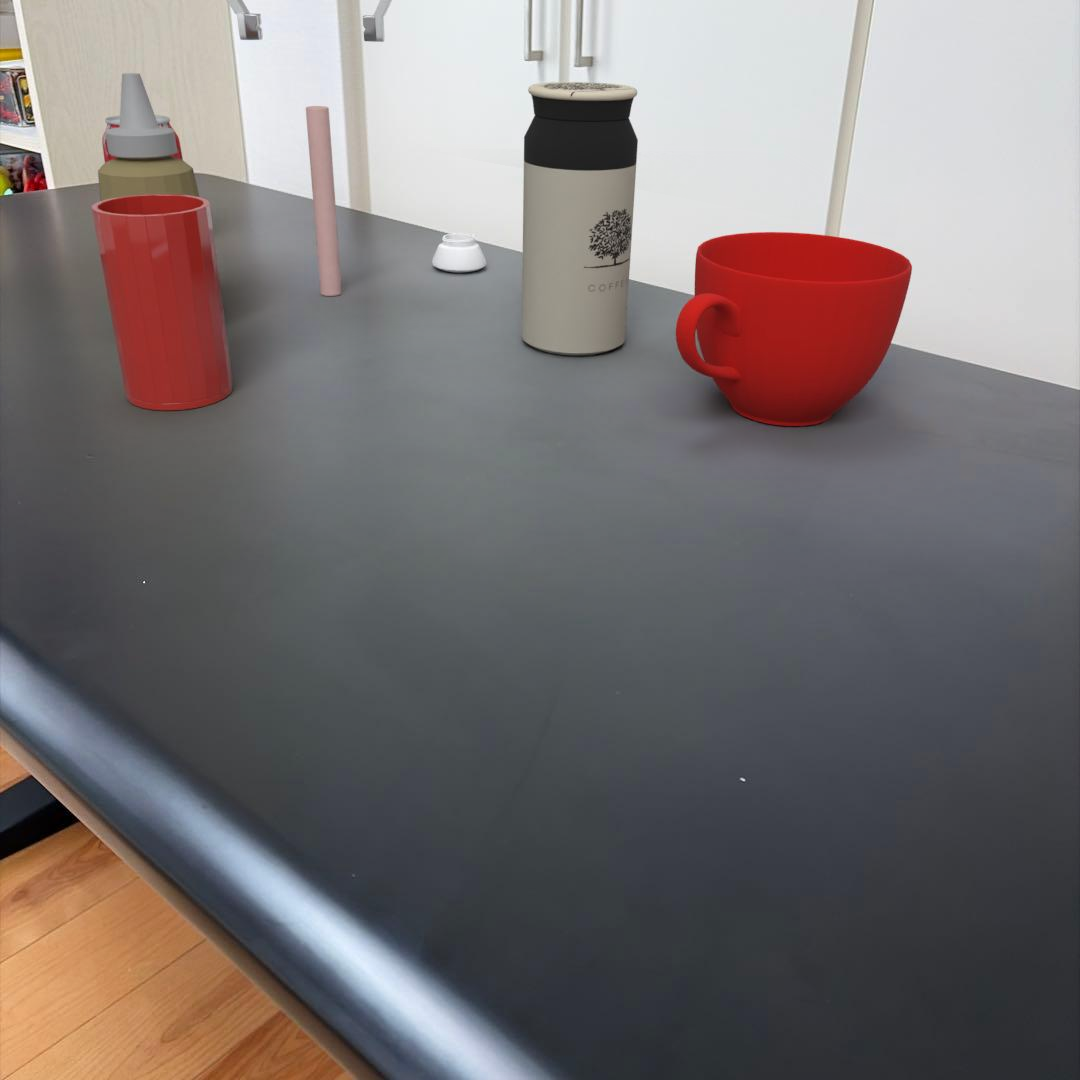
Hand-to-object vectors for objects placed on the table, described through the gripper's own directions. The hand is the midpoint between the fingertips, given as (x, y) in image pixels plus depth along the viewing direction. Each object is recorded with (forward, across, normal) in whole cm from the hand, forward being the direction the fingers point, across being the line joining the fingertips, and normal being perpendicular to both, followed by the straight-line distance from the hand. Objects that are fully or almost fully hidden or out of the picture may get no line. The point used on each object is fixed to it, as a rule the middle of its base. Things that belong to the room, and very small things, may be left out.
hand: (313, 40), depth 80 cm
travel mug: (+20, -20, +13) cm, 31 cm away
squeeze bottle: (+20, +11, +10) cm, 25 cm away
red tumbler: (+20, +7, +24) cm, 32 cm away
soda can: (+20, +19, -16) cm, 32 cm away
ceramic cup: (+20, -31, +28) cm, 46 cm away
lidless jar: (+20, -11, -9) cm, 25 cm away
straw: (+20, 0, 0) cm, 20 cm away
